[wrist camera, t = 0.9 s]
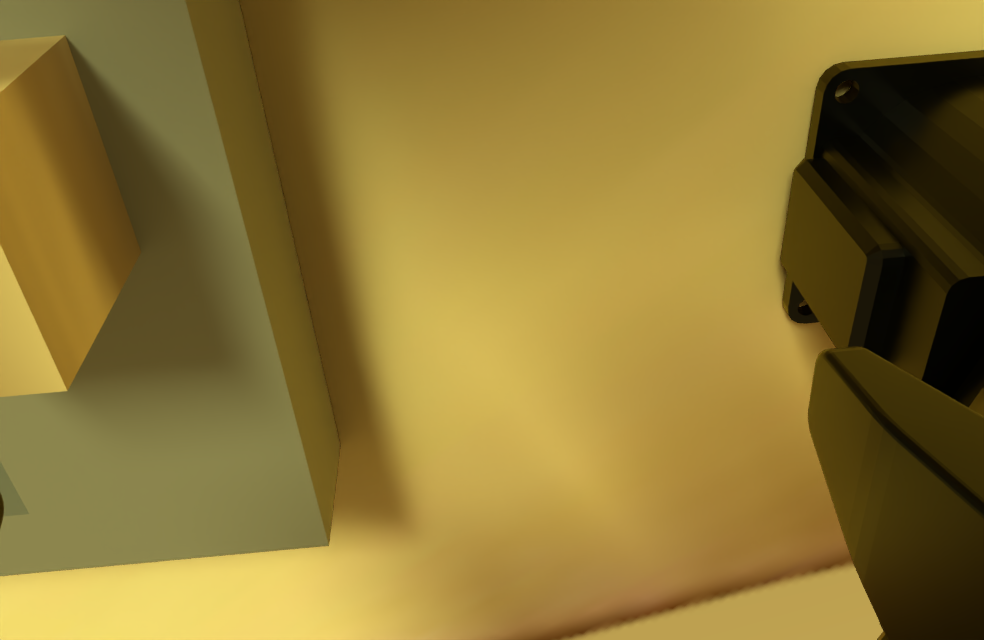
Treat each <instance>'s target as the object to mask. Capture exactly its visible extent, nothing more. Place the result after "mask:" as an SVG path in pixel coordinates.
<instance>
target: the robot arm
mask: <svg viewBox="0 0 984 640" xmlns="http://www.w3.org/2000/svg"><path fill="white" fill-rule="evenodd" d="M847 80H851V87H850V89H849V91H847V92H846V93H845V94H844V95H842V96H839V97H835V91H836V89H837V87H838V86H839V85H840V84H841V83H842V82H844V81H847ZM780 260H781V264H782V265H783V267H784V268H785V270H786V271H787V274H786V281H785V287H784V293H783V307H784V309H785V310H786V312H787V314H788V315H789V317H790V318H791V319H792V320H793V321H795V322H797V323H816V322H820V324H821V325H822V327H823V328H824V330H825V331H826V333H827V334H828V336H829V337H830V339H831V341H832V342H833V344H834V345H835V347H836V348H834V349H826V350H824V351H822V352H821V353H820V354H819V355H818V357H817V359H816V363H815V369H814V375H813V382H812V388H811V395H810V401H809V408H808V423H809V429H810V433H811V437H812V440H813V443H814V446H815V449H816V452H817V455H818V458H819V461H820V464H821V467H822V471H823V474H824V477H825V480H826V483H827V486H828V489H829V492H830V495H831V498H832V501H833V504H834V507H835V510H836V513H837V517H838V520H839V523H840V526H841V529H842V532H843V535H844V538H845V541H846V544H847V547H848V550H849V552H850V555H851V558H852V561H853V564H854V566H855V568H856V571H857V573H858V575H859V578H860V580H861V582H862V584H863V587H864V589H865V591H866V593H867V595H868V597H869V600H870V602H871V604H872V606H873V608H874V610H875V613H876V615H877V617H878V619H879V622H880V624H881V627H882V629H883V633H882V634H881V635H880V636H879V638H878V639H877V640H984V50H981V51H969V52H957V53H945V54H934V55H922V56H910V57H898V58H887V59H875V60H863V61H851V62H842V63H839V64H835V65H833V66H832V67H830V68H829V69H827V70H826V71H825V72H824V73H823V75H822V76H821V77H820V78H819V81H818V84H817V87H816V93H815V99H814V105H813V112H812V118H811V124H810V130H809V137H808V143H807V149H806V155H805V159H803V160H802V161H801V162H800V163H799V165H798V166H797V167H796V168H795V169H794V172H793V179H792V185H791V192H790V199H789V205H788V212H787V218H786V225H785V231H784V238H783V244H782V251H781V257H780ZM803 300H805V301H806V302H807V305H804V306H801V307H800V306H799V304H800V303H801V302H802V301H803ZM3 516H4V502H3V498H2V495H1V493H0V528H1V525H2V521H3Z"/></svg>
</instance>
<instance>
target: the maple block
mask: <svg viewBox="0 0 984 640" xmlns="http://www.w3.org/2000/svg"><path fill="white" fill-rule="evenodd" d="M140 254H141V250H140V247H139V245H138V242H137V239H136V236H135V233H134V230H133V227H132V225H131V222H130V219H129V216H128V213H127V210H126V207H125V205H124V202H123V199H122V196H121V193H120V190H119V187H118V185H117V182H116V179H115V176H114V173H113V170H112V168H111V165H110V162H109V159H108V156H107V153H106V150H105V148H104V145H103V142H102V139H101V136H100V133H99V130H98V128H97V125H96V122H95V119H94V116H93V113H92V110H91V108H90V105H89V102H88V99H87V96H86V93H85V90H84V88H83V85H82V82H81V79H80V76H79V73H78V70H77V68H76V65H75V62H74V59H73V56H72V53H71V50H70V48H69V45H68V42H67V39H66V36H65V35H61V36H49V37H37V38H25V39H13V40H1V41H0V397H6V396H18V395H29V394H40V393H51V392H62V391H68V389H69V387H70V385H71V383H72V382H73V380H74V378H75V376H76V374H77V372H78V370H79V368H80V366H81V365H82V363H83V361H84V359H85V357H86V355H87V353H88V351H89V350H90V348H91V346H92V344H93V342H94V340H95V338H96V336H97V335H98V333H99V331H100V329H101V327H102V325H103V323H104V321H105V319H106V318H107V316H108V314H109V312H110V310H111V308H112V306H113V304H114V303H115V301H116V299H117V297H118V295H119V293H120V291H121V289H122V287H123V286H124V284H125V282H126V280H127V278H128V276H129V274H130V272H131V271H132V269H133V267H134V265H135V263H136V261H137V259H138V257H139V256H140Z"/></svg>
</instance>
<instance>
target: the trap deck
mask: <svg viewBox="0 0 984 640" xmlns="http://www.w3.org/2000/svg"><path fill="white" fill-rule="evenodd" d="M61 35H65V36H66V39H67V42H68V45H69V48H70V50H71V53H72V56H73V59H74V62H75V65H76V68H77V70H78V73H79V76H80V79H81V82H82V85H83V88H84V90H85V93H86V96H87V99H88V102H89V105H90V108H91V110H92V113H93V116H94V119H95V122H96V125H97V128H98V130H99V133H100V136H101V139H102V142H103V145H104V148H105V150H106V153H107V156H108V159H109V162H110V165H111V168H112V170H113V173H114V176H115V179H116V182H117V185H118V187H119V190H120V193H121V196H122V199H123V202H124V205H125V207H126V210H127V213H128V216H129V219H130V222H131V225H132V227H133V230H134V233H135V236H136V239H137V242H138V245H139V247H140V250H141V254H140V256H139V257H138V259H137V261H136V263H135V265H134V267H133V269H132V271H131V272H130V274H129V276H128V278H127V280H126V282H125V284H124V286H123V287H122V289H121V291H120V293H119V295H118V297H117V299H116V301H115V303H114V304H113V306H112V308H111V310H110V312H109V314H108V316H107V318H106V319H105V321H104V323H103V325H102V327H101V329H100V331H99V333H98V335H97V336H96V338H95V340H94V342H93V344H92V346H91V348H90V350H89V351H88V353H87V355H86V357H85V359H84V361H83V363H82V365H81V366H80V368H79V370H78V372H77V374H76V376H75V378H74V380H73V382H72V383H71V385H70V387H69V389H68V391H62V392H51V393H40V394H29V395H18V396H6V397H0V493H1V495H2V498H3V502H4V516H3V521H2V525H1V528H0V576H7V575H18V574H29V573H39V572H50V571H61V570H72V569H83V568H93V567H104V566H115V565H126V564H137V563H147V562H158V561H169V560H180V559H191V558H201V557H212V556H223V555H234V554H245V553H255V552H266V551H277V550H288V549H299V548H309V547H320V546H329V541H330V532H331V524H332V515H333V507H334V498H335V490H336V481H337V472H338V464H339V455H340V447H341V445H340V441H339V436H338V432H337V428H336V423H335V419H334V414H333V410H332V406H331V401H330V397H329V392H328V388H327V384H326V379H325V375H324V371H323V366H322V362H321V357H320V353H319V349H318V344H317V340H316V335H315V331H314V327H313V322H312V318H311V314H310V309H309V305H308V300H307V296H306V292H305V287H304V283H303V279H302V274H301V270H300V265H299V261H298V257H297V252H296V248H295V243H294V239H293V235H292V230H291V226H290V222H289V217H288V213H287V208H286V204H285V200H284V195H283V191H282V186H281V182H280V178H279V173H278V169H277V165H276V160H275V156H274V151H273V147H272V143H271V138H270V134H269V129H268V125H267V121H266V116H265V112H264V108H263V103H262V99H261V94H260V90H259V86H258V81H257V77H256V73H255V68H254V64H253V59H252V55H251V51H250V46H249V42H248V37H247V33H246V29H245V24H244V20H243V16H242V11H241V7H240V2H239V0H0V41H1V40H13V39H25V38H37V37H49V36H61Z"/></svg>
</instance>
